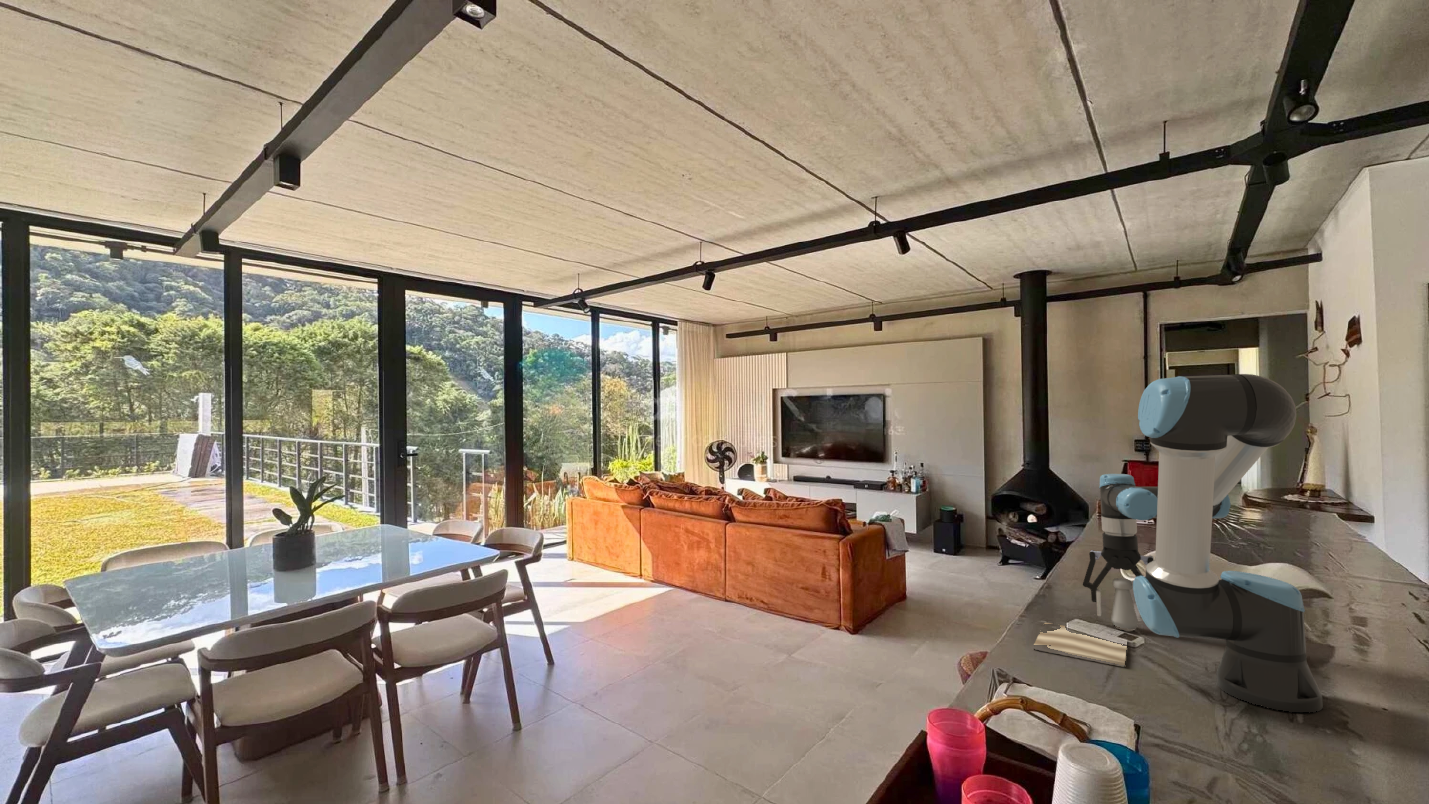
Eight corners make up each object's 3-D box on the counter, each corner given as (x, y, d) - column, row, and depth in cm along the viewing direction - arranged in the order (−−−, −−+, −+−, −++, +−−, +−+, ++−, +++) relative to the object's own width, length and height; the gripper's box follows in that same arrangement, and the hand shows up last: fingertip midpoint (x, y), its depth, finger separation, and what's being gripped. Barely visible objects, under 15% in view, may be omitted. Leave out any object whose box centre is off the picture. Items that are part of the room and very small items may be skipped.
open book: (1125, 668, 126) (1124, 662, 126) (1033, 650, 137) (1033, 645, 138) (1128, 641, 141) (1127, 636, 141) (1045, 626, 152) (1044, 622, 152)
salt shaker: (1138, 635, 144) (1135, 583, 145) (1110, 630, 148) (1108, 580, 148) (1138, 627, 149) (1135, 577, 149) (1111, 623, 152) (1109, 574, 153)
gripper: (1174, 534, 145) (1179, 622, 144) (1070, 526, 159) (1074, 606, 158) (1175, 540, 139) (1180, 631, 138) (1067, 531, 153) (1071, 614, 152)
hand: (1124, 618), depth 148 cm, fingers open, 10 cm apart
